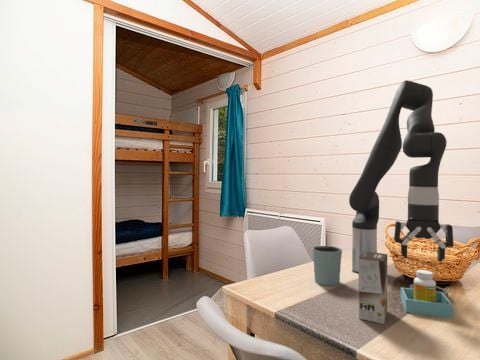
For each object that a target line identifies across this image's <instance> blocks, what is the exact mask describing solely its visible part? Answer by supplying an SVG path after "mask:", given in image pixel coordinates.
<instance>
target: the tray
mask: <svg viewBox="0 0 480 360" xmlns="http://www.w3.org/2000/svg"><path fill="white" fill-rule="evenodd" d="M400 301H401V303H402V306H403V308H404V312H405V313H410V314H417V315H425V316H430V317H439V318H446V319H454V305H453V303H452V302H451V301H450V300H449V297H448V298H447V297H446V296H445V294H444V293H443V292H437V291H436V302H428V301H420V300H414V289H411V288H409V287H400Z"/></svg>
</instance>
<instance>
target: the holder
mask: <svg viewBox="0 0 480 360" xmlns="http://www.w3.org/2000/svg"><path fill="white" fill-rule="evenodd" d="M408 288H411V289H414V283H411V284H409V286H408ZM436 291H437V292H443V293H444V294H445V296H446V297H447V298H448V299H449V292H448V291H447V290H446V289H444V287H443V288H442V287H440V286H437V285H436Z"/></svg>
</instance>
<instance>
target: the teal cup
mask: <svg viewBox="0 0 480 360" xmlns="http://www.w3.org/2000/svg"><path fill="white" fill-rule="evenodd" d="M312 255H313V269H314V270H313V271H314V281H315V283H316V284H317V285H320V286H324V287H335V285H336V286H338V285H339V284H340V280H341V277H340V275H341V266H342V265H341V264H342V262H341V261H342V255H343V249H342V248H340V247H336V246H330V245H317V246H316V245H315V246H313V247H312Z"/></svg>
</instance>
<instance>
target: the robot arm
mask: <svg viewBox="0 0 480 360" xmlns="http://www.w3.org/2000/svg"><path fill="white" fill-rule="evenodd" d="M433 98H434V94H433V89H432V88H431V87H430V86H428V85H425V84H422V83H418V82H415V81H412V80H408V79H407V80H404V81H402V82H401V83H400V85H399V86H398V88H397V90H396V91H395V94H394V97H393V99H392V103H391V104H390V108H389V110H388V113H387V116H386V118H385V119H384V120H385V121H384V123H383V125H382V127H381V129H380V132H379V133H378V136H377V138H376V141H374V144H373V146H372V150H371V151H370V154H369V156H368V158H367V161H366V164H364V168H363V170H362V173H361V175H360V177H359V178H358V180H357V182H356V183H355V186H354V187H353V189H352V191H351V192H350V194H349V198H348V199H349V200H348V203H349V206H350V208H351V209H352V210H354V211H355V212H356V213H355V217H354V219H353V220H352V223H351V225H352V226H351V228H352V229H351V230H352V235H351V236H352V237H351V240H352V241H351V242H352V243H351V244H352V246H351V249H352V250H351V252H352V253H351V258H352V259H351V262H352V264H351V265H352V266H351V267H352V270H351V271H352V272H356V273H359V257H360V256H361V255H362V254H363V253H364V252H370V253H371V252H373V253H378V223H379V219H380V198H379V195H378V193H377V191H376V190H377V188H378V186H379V184H380V182H381V180H382V179H383V178H384V176H385V175H386V174H387V173H388V172H389V171H390V169H392V167H393V165H394V164H395V162H396V160H397V159H398V156H399V154H400V152H401V150H402V152H403V154H404V155H405V156H406V157H408V158H414V159H415V158H420V159H421V158H430V159H429V161H428V162H427V163H426V164H421V165H416V166H412V167H411V168H410V169H409V174H408V175H409V176H408V177H409V180H408V187H409V188H408V192H407V193H408V194H407V221H406V222H402V221H401V222H400V221H399V220H397V221H395V222H394V223H395V224H394V236H393V239H394V242H396V243H398V244H400V254H401V255H402V257H403V258H404V259H408V243H409V242H410V241H411V240H413V239H414V238H416V239H426V240H430V239H433V241H434V242H435V243H436V244H437V245H438V246H437V254H436V256H437V261H438V262H440V263H441V262H443V261H444V260H445V259H446V248H453V246H454V232H453V226H452V225H451V224H449V223H446V224H440V222H439V218H440V217H439V215H440V213H439V211H440V193H439V170H440V165H441V161H442V159H443V156H444V154H445V151H446V148H447V145H448V144H447V142H448V141H447V138H446V136H445V135H444V134H443V133H441V132H438V131H437V132H436V131H435V125H434V121H433V118H432V112H433V111H432V110H433ZM402 108H403V109H406V110H409V111H411V113H409V115H408V117H407V120H406V129H407V130H406V131H407V133H406V134H405V137H404V139H403V140H402V134H401V133H402V132H401V130H400V115H401V110H402ZM402 141H403V142H402ZM405 227H406V228H407V230H408V232H407V233H406V234H405V235H404V237H403V238H401V231H402V230H403V229H404V228H405ZM440 230H442V232H444V233H445V241H444V242H443V241H442V239H441V238H440V237H439V235H438V232H439V231H440Z"/></svg>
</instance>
